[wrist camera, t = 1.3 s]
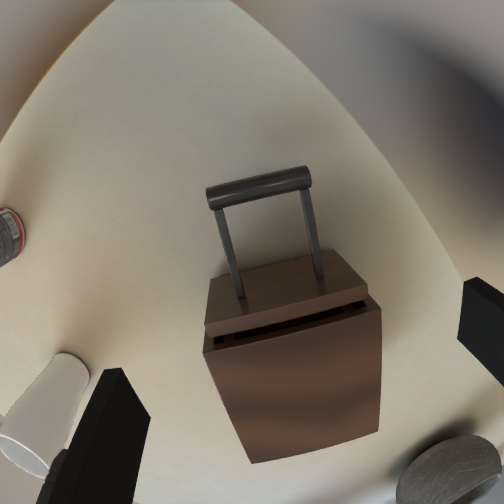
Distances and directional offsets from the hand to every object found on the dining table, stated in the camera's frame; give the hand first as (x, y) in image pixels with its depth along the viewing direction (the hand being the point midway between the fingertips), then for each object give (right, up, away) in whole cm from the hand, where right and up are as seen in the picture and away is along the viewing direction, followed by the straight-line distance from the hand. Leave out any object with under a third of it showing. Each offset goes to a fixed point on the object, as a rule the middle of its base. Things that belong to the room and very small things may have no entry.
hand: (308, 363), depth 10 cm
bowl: (+33, -35, +33) cm, 59 cm away
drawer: (0, 0, +18) cm, 19 cm away
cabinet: (+2, -5, +21) cm, 22 cm away
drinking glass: (-24, -10, +21) cm, 34 cm away
